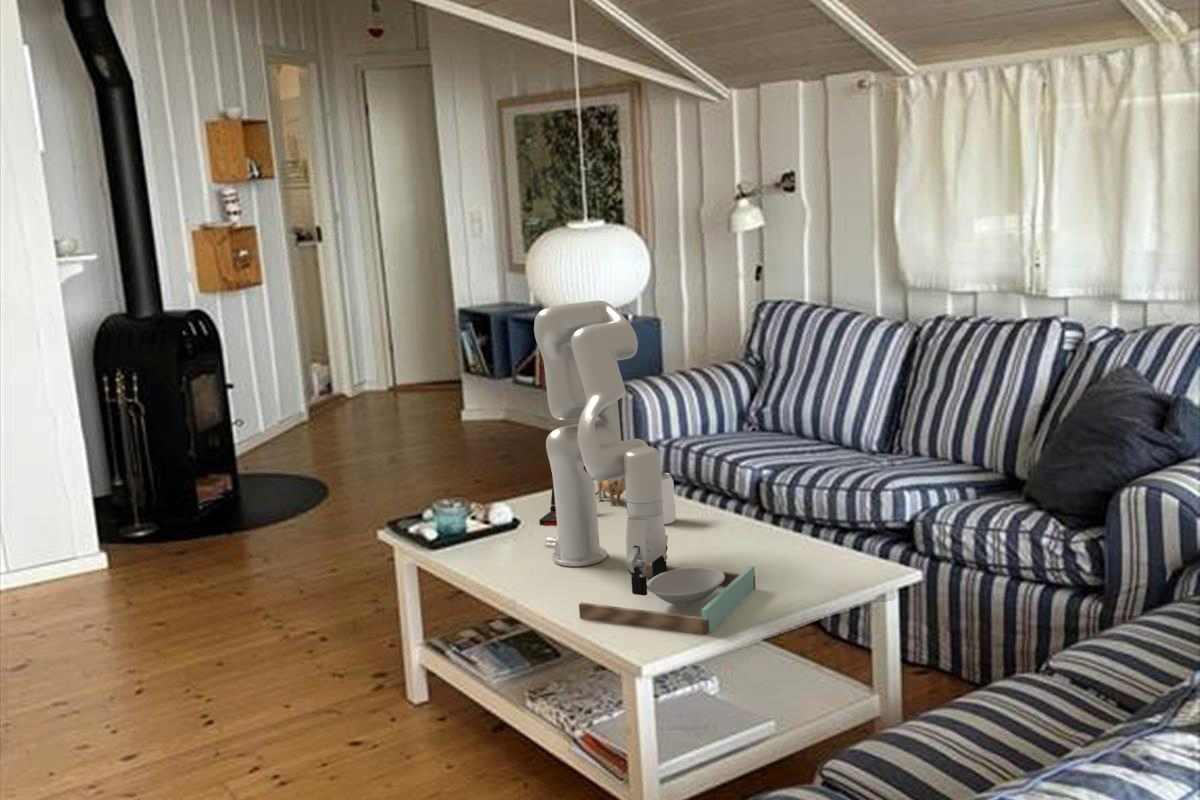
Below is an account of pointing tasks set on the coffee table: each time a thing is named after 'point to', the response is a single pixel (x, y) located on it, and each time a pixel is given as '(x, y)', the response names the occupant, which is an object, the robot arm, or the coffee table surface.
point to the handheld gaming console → (550, 513)
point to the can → (668, 498)
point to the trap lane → (711, 614)
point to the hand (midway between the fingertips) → (650, 586)
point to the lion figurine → (612, 489)
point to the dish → (686, 584)
